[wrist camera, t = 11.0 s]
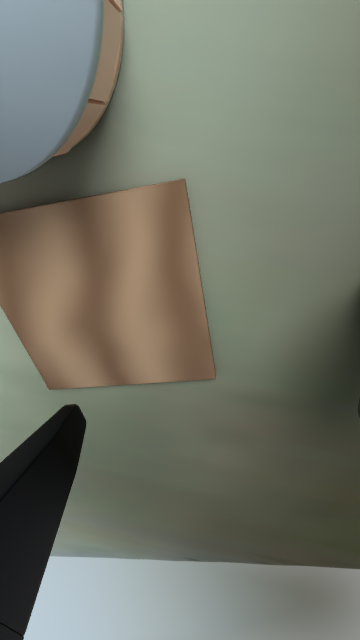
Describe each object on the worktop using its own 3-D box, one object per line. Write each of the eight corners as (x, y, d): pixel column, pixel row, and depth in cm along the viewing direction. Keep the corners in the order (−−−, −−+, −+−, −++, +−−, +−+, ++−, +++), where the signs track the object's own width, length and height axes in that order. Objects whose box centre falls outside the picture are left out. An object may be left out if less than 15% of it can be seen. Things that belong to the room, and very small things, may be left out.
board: (185, 178, 18) (184, 179, 18) (216, 374, 26) (215, 378, 26) (-43, 220, 21) (-48, 222, 20) (51, 385, 29) (49, 389, 29)
